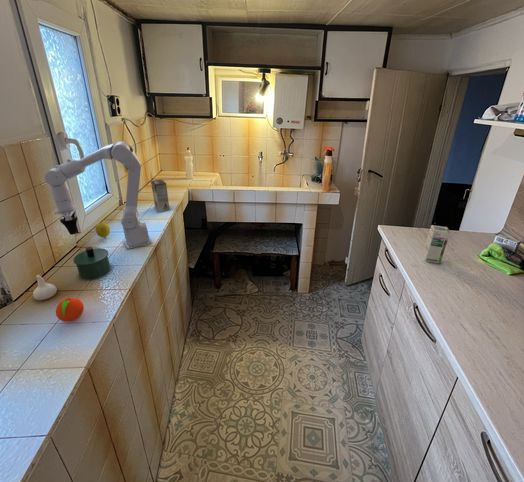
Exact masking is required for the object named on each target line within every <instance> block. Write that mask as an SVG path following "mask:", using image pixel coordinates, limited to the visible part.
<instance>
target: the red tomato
mask: <svg viewBox="0 0 524 482" xmlns="http://www.w3.org/2000/svg"><path fill="white" fill-rule="evenodd" d="M84 309H85V306H84V303H83V301H82V300H81V299H80V298H77V297H73V296H72V297H67V298H64V299H62V300H61V301H59V303H58V304H57V305H56V307H55V316H56V318H57V319H58V320H60V321H62V322H66V323H69V322H74V321H76V320H78V319H79V318H80V317H81V316H82V315H83V313H84Z"/></svg>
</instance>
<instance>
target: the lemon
mask: <svg viewBox="0 0 524 482" xmlns="http://www.w3.org/2000/svg"><path fill="white" fill-rule="evenodd" d="M110 232H111V230H110V227H109V225H108V224H107V223H106V222H103V221H100V222H98V223H97V224H96V226H95V233H96V234H97V236H98V237H100V238H104V239H106V237H108V236H109V235H110Z"/></svg>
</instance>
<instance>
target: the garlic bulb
mask: <svg viewBox="0 0 524 482" xmlns="http://www.w3.org/2000/svg"><path fill="white" fill-rule="evenodd" d="M35 277H36V281H37V287H36V288H35V289H34V290H33V292H32V297H33V298H34V299H35V301H45V300H48V299H50V298H52V297H54V295H56V294H57V292H58V289H57V286H56V285H55V284H53V283H47V282H46V281H45V280H44V278H43V277H42V275H41V274H37V275H35Z"/></svg>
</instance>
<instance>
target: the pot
mask: <svg viewBox="0 0 524 482" xmlns="http://www.w3.org/2000/svg"><path fill="white" fill-rule="evenodd" d="M75 265H76V266H75V267H76V269H77V272H78V275H79V277H80V279H82V280H87V281H91V280H96V279H100V278H102V277H105V276H106V275H107V274H108V273H110V271H111V264H110V260H109V255H108V256H107V257H106V258H105V259H104V260H102V261H100V262H98V263H95V264H91V265H84V266H82V265H77V264H75Z"/></svg>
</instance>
